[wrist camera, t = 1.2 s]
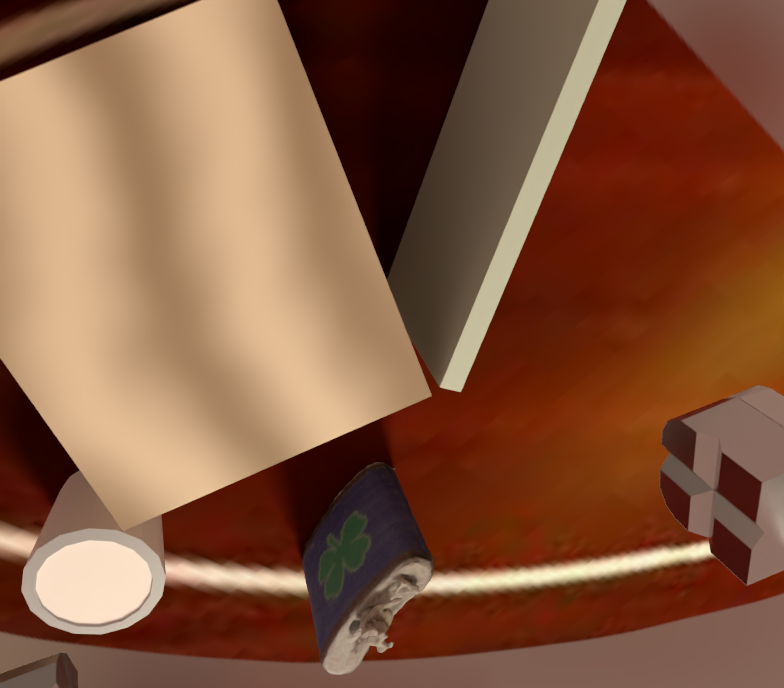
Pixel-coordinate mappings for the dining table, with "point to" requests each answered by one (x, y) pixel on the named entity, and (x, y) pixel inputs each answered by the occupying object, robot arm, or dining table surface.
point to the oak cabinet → (188, 260)
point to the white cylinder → (93, 565)
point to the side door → (493, 170)
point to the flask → (363, 567)
